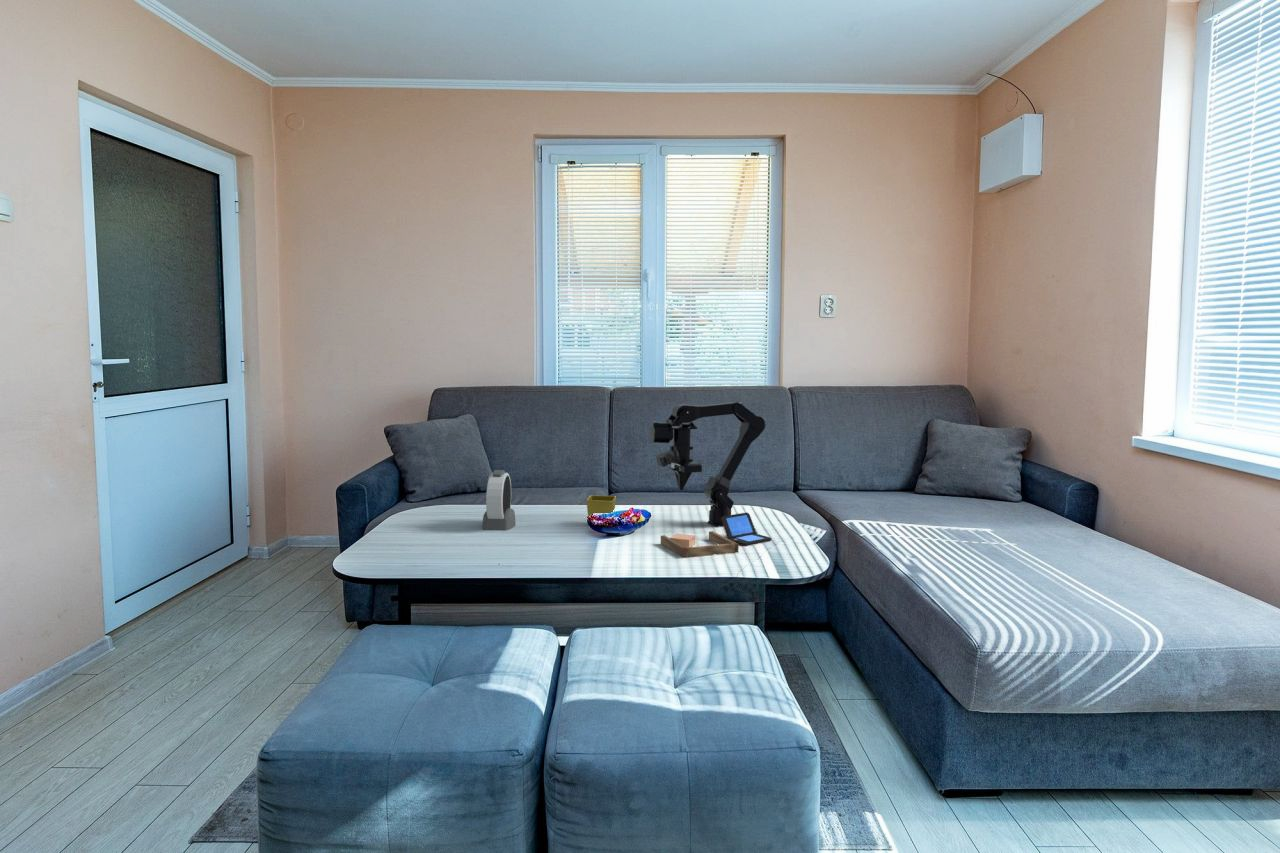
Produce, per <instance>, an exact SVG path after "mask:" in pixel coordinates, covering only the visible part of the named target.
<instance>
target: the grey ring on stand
mask: <svg viewBox="0 0 1280 853" xmlns="http://www.w3.org/2000/svg"><path fill="white" fill-rule="evenodd" d="M486 485H487V486H486V494H485V495H486V496H485V498H486V499H485V500H486V501H485V506H486V507H485V508H486V511H485V512H484V513H483V516H482V530H484V531H509V530H512V529H513V528H515V527H516V514H515V513H516V512H515V510H514V509H513V508H511V505H512V504H511V503H512V481H511V477H510V474H509V473H508V472H506V470H504V469H494V470H493V471H492V472H491V474H489V476H488V481H487V484H486Z"/></svg>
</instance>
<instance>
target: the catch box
mask: <svg viewBox="0 0 1280 853" xmlns="http://www.w3.org/2000/svg"><path fill="white" fill-rule="evenodd" d="M708 541H711V542H713V543H714V542H715V544H713V545H712V544H710V545H701V546H692V547H687V548H686V547H684V546H683V545H681V544H679V543H677V542H675V541H674V540H672V539H670V537H668V536H666V535H660V544H661V545H662V546H663V547H665V548H667V549H668V550H670V551H672V552H674V553H675V554H677V555H679V556H680V557H682V558H683V559H684V558H694V557H695V558H696V557H704V556H714V555H713V554H717V555H724V554H726V553H727V554H735V552H737V553H739V548H740V547H739V546H740V545H739V544H738V543H736V542H734V541H732V540H729V539H728V537H725V536H723V535H721V534H719V533H717V532H715V531H712V530H710V531H708ZM716 543H717V544H716ZM718 544H719V545H718ZM727 554H726V555H727Z"/></svg>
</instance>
